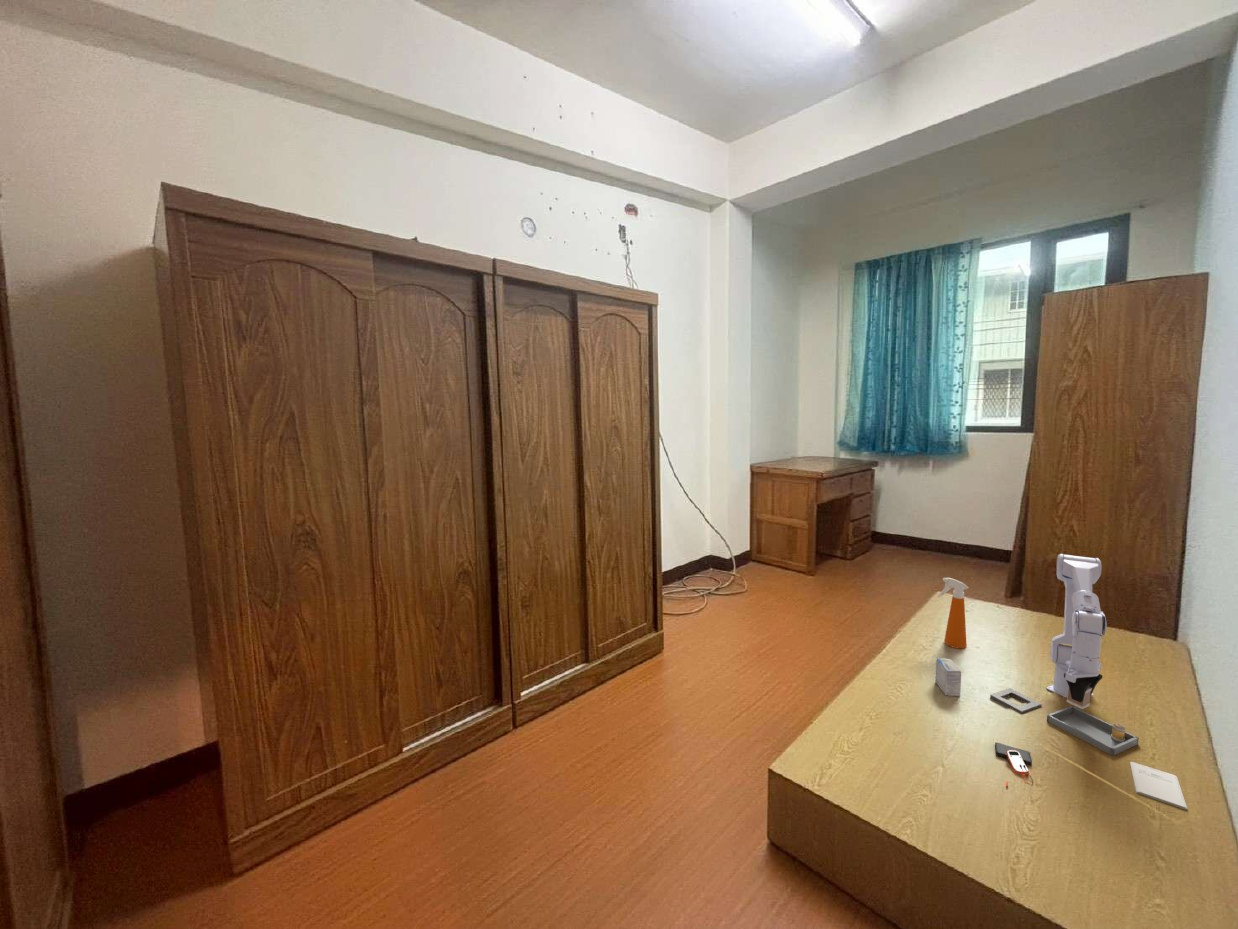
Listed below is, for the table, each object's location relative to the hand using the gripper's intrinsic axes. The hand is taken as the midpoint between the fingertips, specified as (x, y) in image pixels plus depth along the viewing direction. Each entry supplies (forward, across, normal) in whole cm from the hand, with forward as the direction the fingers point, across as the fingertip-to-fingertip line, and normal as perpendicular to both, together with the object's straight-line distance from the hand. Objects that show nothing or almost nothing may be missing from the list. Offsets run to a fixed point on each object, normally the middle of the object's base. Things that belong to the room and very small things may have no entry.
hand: (1080, 698), depth 142 cm
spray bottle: (+9, -16, -46) cm, 49 cm away
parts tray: (+9, 0, +3) cm, 9 cm away
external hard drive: (+10, +10, +20) cm, 24 cm away
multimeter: (+10, +33, +3) cm, 34 cm away
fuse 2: (+8, -2, +8) cm, 12 cm away
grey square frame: (+9, +3, -14) cm, 17 cm away
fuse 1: (+2, 0, 0) cm, 2 cm away
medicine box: (+9, +14, -28) cm, 33 cm away
